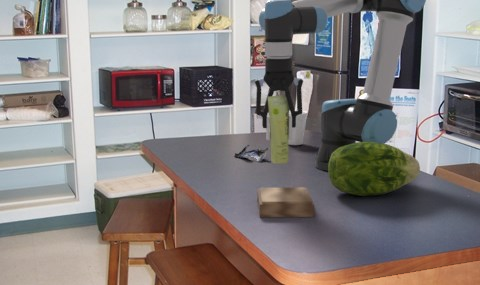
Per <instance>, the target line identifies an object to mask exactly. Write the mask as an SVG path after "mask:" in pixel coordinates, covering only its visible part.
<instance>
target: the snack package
mask: <svg viewBox="0 0 480 285" xmlns="http://www.w3.org/2000/svg"><path fill="white" fill-rule="evenodd" d="M249 147H250V144H247V145H246V146H244V147H243V149H242V150H240V151H239V153H234V158H239V157H240V158H241V159H247V160H249V161H252V158H251V157H254V158H253V159H255V158H256V159H257V160H256V159H255V160H256V161H257V162H258V163H260V162H262V161H263V159H264V158H265V156H266V155H267V153H268V149H269V147H266V148H265V149H261V148H258V149H253V150H248V148H249ZM255 147H256V145H255ZM247 150H248V151H247ZM244 156H251V157H249V158H248V157H244Z"/></svg>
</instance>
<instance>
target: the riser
mask: <svg viewBox="0 0 480 285" xmlns="http://www.w3.org/2000/svg"><path fill="white" fill-rule="evenodd" d="M256 190H257V193H256V194H257V196H256V197H257V199H256V200H257V208H258V213H259V214H258V215H259V218H313V217H314V215H315V214H314V213H315V212H314V211H315V203H314V201H313V198H312V196H311V194H310V192H309V190H308V188H306V187H300V186H299V187H295V186H294V187H259V188H257V189H256Z"/></svg>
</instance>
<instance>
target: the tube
mask: <svg viewBox="0 0 480 285" xmlns="http://www.w3.org/2000/svg"><path fill="white" fill-rule="evenodd" d="M268 108H269V110H268V116H269V120H270V157H271V158H270V159H271V163H273V164H275V165H281V164H287V163H289V144H288V138H289V110H290V109H289V105H288V102H287V98H286V95H285V93H284V94H280V95H273V96H270V97H268Z"/></svg>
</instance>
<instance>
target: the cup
mask: <svg viewBox="0 0 480 285" xmlns="http://www.w3.org/2000/svg"><path fill="white" fill-rule="evenodd" d="M289 115H291V112H290V109H289ZM308 116H309V115H308V111H306V110H303V109H302V114H299V115H297V116H296V127H295V128H292V140H289V138H288V146H300V145H303V142H304V137H305V136H304V135H305V130H306V125H307V124H306V123H307V118H308Z"/></svg>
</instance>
